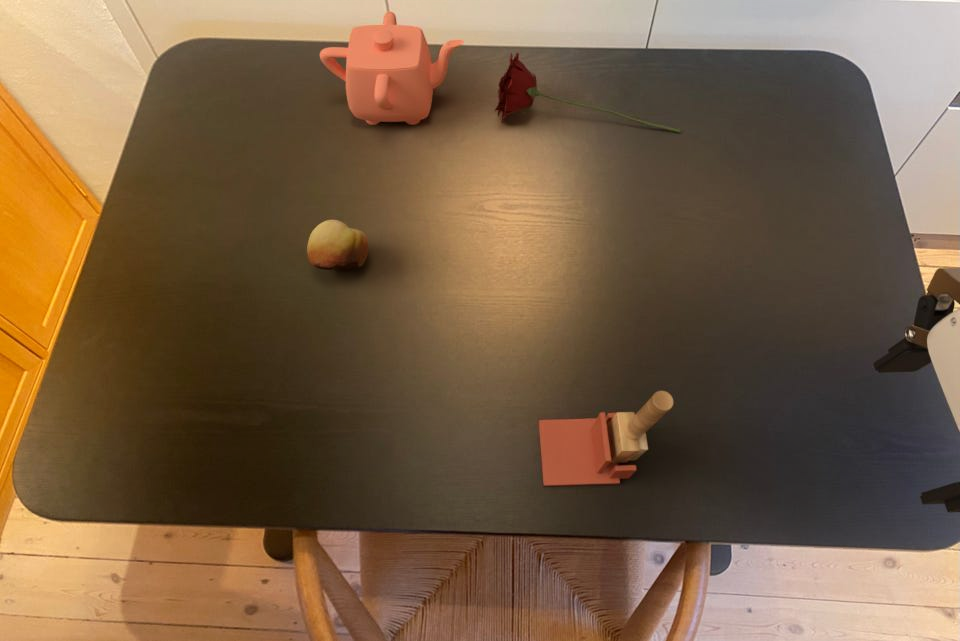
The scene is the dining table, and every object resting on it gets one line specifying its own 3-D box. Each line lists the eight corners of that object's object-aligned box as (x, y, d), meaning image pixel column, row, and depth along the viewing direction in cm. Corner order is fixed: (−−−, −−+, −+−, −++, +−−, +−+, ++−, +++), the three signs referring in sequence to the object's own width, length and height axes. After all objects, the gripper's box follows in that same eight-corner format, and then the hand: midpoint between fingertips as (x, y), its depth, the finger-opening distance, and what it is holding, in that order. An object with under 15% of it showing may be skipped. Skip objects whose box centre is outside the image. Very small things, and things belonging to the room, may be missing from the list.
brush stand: (620, 418, 75) (631, 401, 69) (629, 483, 72) (642, 470, 66) (538, 421, 75) (543, 403, 69) (543, 486, 72) (548, 473, 66)
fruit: (382, 270, 85) (372, 237, 78) (328, 297, 84) (314, 266, 76) (358, 232, 88) (347, 198, 81) (306, 257, 86) (290, 224, 79)
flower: (695, 132, 90) (500, 80, 87) (663, 178, 99) (486, 132, 97) (695, 82, 95) (510, 31, 92) (665, 129, 104) (496, 84, 102)
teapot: (328, 106, 100) (307, 37, 88) (397, 57, 105) (386, -14, 93) (398, 158, 95) (385, 92, 83) (467, 104, 100) (464, 35, 88)
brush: (674, 378, 58) (644, 378, 58) (682, 422, 56) (651, 422, 56) (630, 425, 72) (605, 426, 72) (635, 462, 70) (610, 462, 70)
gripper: (1356, 512, 24) (1020, 557, 40) (1132, 176, 32) (924, 321, 47) (1171, 518, 24) (906, 560, 39) (992, 179, 32) (829, 324, 47)
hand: (916, 430), depth 43 cm, fingers open, 9 cm apart
